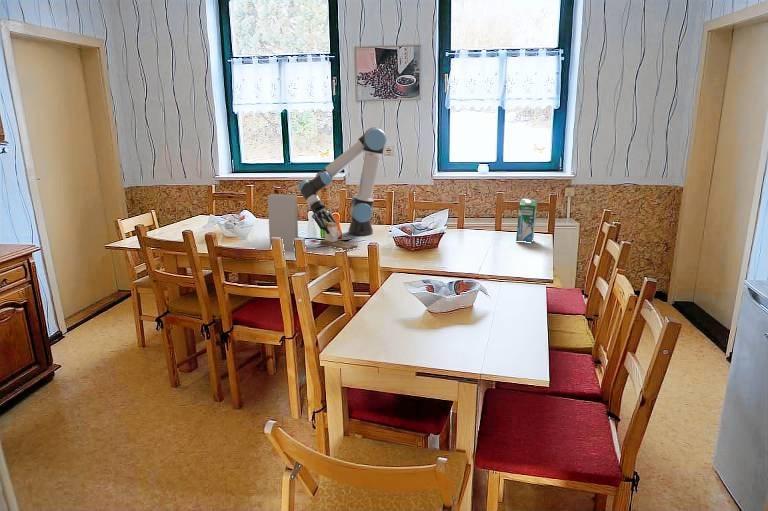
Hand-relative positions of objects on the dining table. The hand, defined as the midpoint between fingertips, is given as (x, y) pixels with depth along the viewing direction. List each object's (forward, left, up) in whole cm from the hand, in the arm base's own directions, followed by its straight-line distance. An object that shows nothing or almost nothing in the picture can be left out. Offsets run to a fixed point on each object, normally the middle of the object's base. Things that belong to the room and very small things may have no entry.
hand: (335, 237), depth 286 cm
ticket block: (0, +2, -5) cm, 5 cm away
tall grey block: (+26, -13, -5) cm, 30 cm away
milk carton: (-86, +73, -5) cm, 113 cm away
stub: (0, -4, -3) cm, 5 cm away
